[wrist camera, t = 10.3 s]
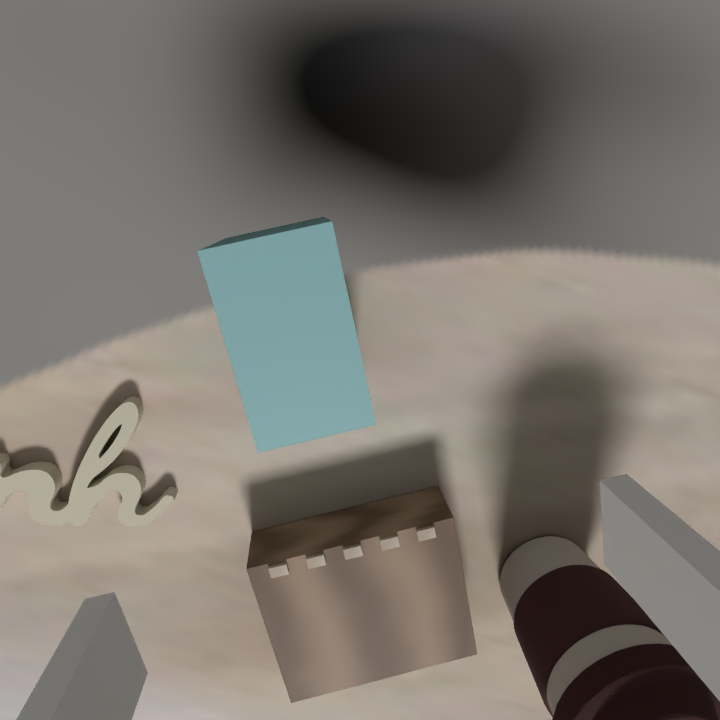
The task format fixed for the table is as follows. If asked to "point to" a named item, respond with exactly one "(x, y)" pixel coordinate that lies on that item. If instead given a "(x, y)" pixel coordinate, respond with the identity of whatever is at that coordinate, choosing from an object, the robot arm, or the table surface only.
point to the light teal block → (289, 332)
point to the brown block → (362, 593)
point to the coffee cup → (595, 641)
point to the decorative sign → (88, 479)
